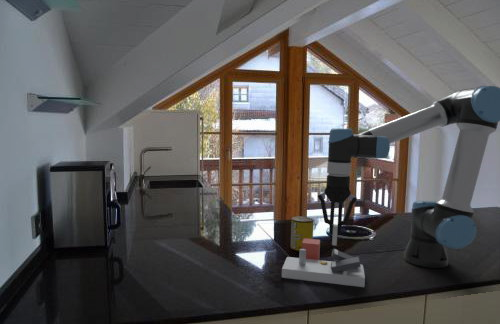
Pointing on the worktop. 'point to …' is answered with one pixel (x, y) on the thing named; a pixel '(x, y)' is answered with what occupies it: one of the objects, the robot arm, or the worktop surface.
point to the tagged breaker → (340, 255)
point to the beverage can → (300, 231)
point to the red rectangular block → (311, 248)
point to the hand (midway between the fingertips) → (334, 244)
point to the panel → (321, 271)
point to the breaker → (345, 264)
